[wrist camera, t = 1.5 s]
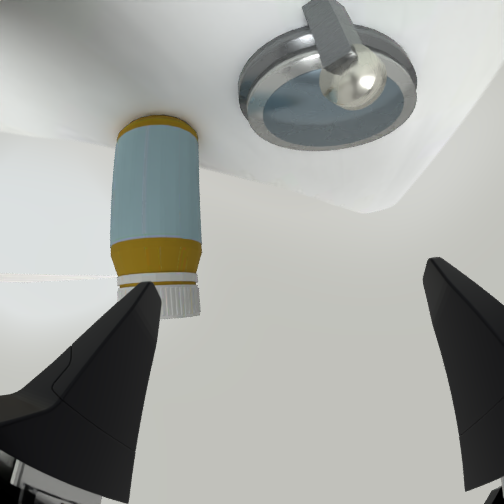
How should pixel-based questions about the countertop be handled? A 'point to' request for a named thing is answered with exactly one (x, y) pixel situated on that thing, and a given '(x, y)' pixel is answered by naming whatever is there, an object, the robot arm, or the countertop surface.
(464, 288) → the robot arm
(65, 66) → the countertop surface
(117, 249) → the bottle
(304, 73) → the platter
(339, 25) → the turntable base
